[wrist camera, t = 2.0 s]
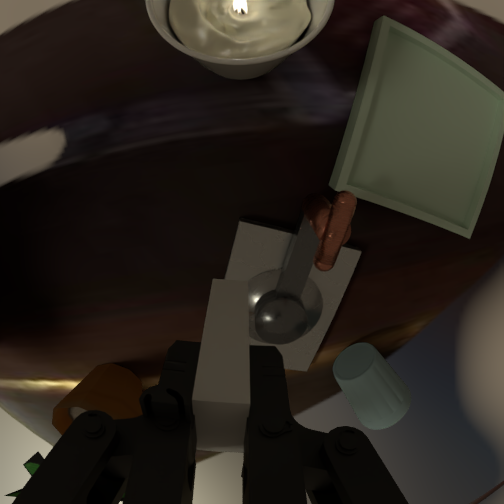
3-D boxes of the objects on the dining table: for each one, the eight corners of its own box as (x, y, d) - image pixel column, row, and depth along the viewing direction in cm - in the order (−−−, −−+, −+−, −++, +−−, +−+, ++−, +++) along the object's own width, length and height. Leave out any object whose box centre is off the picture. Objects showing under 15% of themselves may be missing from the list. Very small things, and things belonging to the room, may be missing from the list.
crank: (294, 333, 32) (305, 382, 26) (248, 325, 32) (250, 375, 25) (351, 182, 26) (384, 204, 20) (297, 166, 26) (317, 183, 19)
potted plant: (183, 343, 34) (138, 614, 7) (178, 429, 42) (158, 606, 14) (49, 313, 33) (-68, 508, 5) (73, 404, 40) (18, 558, 13)
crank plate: (207, 348, 35) (206, 356, 34) (239, 217, 29) (239, 221, 27) (305, 364, 36) (306, 372, 35) (357, 246, 30) (362, 252, 29)
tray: (328, 185, 28) (335, 190, 26) (374, 21, 21) (383, 15, 19) (458, 231, 30) (469, 238, 28) (498, 97, 23) (510, 97, 21)
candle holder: (290, -12, 20) (319, -80, 9) (304, 84, 24) (348, 60, 13) (179, -1, 20) (142, -64, 9) (190, 96, 24) (151, 79, 13)
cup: (384, 325, 33) (409, 374, 36) (327, 346, 37) (359, 389, 40) (386, 376, 27) (412, 420, 30) (320, 394, 31) (356, 434, 34)
